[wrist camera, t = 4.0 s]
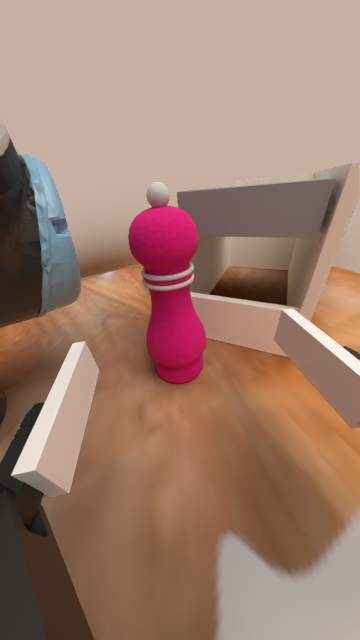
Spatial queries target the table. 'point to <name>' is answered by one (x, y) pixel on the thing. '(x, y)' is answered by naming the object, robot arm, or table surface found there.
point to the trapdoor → (260, 209)
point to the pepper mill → (169, 285)
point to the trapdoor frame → (272, 267)
